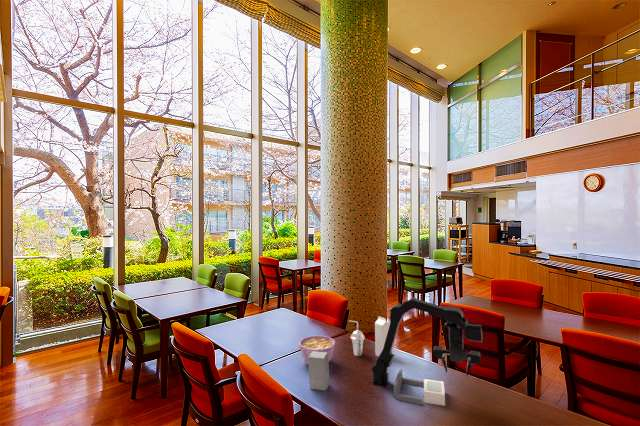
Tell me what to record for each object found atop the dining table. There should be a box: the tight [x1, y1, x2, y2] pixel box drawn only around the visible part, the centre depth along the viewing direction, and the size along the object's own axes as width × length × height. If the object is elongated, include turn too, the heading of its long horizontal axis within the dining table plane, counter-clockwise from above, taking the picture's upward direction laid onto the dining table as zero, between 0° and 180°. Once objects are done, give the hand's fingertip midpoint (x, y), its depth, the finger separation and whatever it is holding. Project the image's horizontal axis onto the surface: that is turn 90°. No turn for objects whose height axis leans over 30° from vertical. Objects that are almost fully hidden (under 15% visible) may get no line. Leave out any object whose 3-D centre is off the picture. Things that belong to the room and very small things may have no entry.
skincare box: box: [307, 351, 330, 392], centre depth 154 cm, size 8×7×16 cm
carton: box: [423, 378, 446, 407], centre depth 144 cm, size 8×11×5 cm
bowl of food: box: [299, 335, 336, 364], centre depth 179 cm, size 20×20×12 cm
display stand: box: [393, 368, 424, 406], centre depth 148 cm, size 12×16×6 cm
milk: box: [374, 315, 390, 357], centre depth 187 cm, size 6×6×22 cm
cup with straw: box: [348, 319, 366, 357], centre depth 189 cm, size 8×9×20 cm
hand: (456, 373), depth 140 cm, fingers open, 8 cm apart
